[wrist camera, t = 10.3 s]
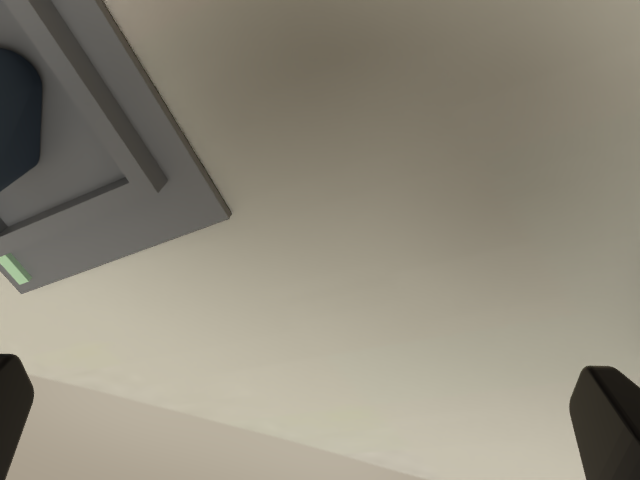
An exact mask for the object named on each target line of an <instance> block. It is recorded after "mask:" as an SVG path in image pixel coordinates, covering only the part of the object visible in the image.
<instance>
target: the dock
mask: <svg viewBox="0 0 640 480" xmlns="http://www.w3.org/2000/svg"><path fill="white" fill-rule="evenodd" d="M0 48H2V49H7V50H11V51H13V52H15V53H17V54H19V55H21V56H22V57H24V58H25V59H26V60H27V61H28V62H29V63H31V64H32V66H33V67H34V68H35V69H36V71H37V73H38V74H39V77H40V79H41V82H42V104H41V130H40V156H39V161H38V164H37V165H36V166H35V167H33V168H32V169H31V170H29V171H28V172H27V173H25V174H24V175H23V176H21V177H20V178H18V179H17V180H16V181H14V182H13V183H12V184H10V185H9V186H8V187H6V188H5V189H3V190H2V191H1V192H0V271H1V272H2V274H3V275H4V276H5V277H6V278H7V279H8V280H9V281H10V282H11V283H12V285H13V286H14V287H15V288H16V289H17V290H18V291H19V292H20V293H21V294H23V293H26V292H29V291H31V290H34V289H37V288H40V287H42V286H45V285H48V284H51V283H53V282H56V281H59V280H62V279H65V278H67V277H70V276H73V275H76V274H78V273H81V272H84V271H87V270H89V269H92V268H95V267H98V266H100V265H103V264H106V263H109V262H111V261H114V260H117V259H120V258H122V257H125V256H128V255H131V254H133V253H136V252H139V251H142V250H145V249H147V248H150V247H153V246H156V245H158V244H161V243H164V242H167V241H169V240H172V239H175V238H178V237H180V236H183V235H186V234H189V233H191V232H194V231H197V230H200V229H202V228H205V227H208V226H211V225H213V224H216V223H219V222H222V221H225V220H227V219H229V218H230V216H231V212H230V210H229V209H228V207H227V205H226V204H225V202H224V200H223V199H222V197H221V196H220V194H219V192H218V191H217V189H216V187H215V186H214V184H213V182H212V181H211V179H210V177H209V176H208V174H207V173H206V171H205V169H204V168H203V166H202V164H201V163H200V161H199V159H198V158H197V156H196V154H195V153H194V151H193V150H192V148H191V146H190V145H189V143H188V141H187V140H186V138H185V136H184V135H183V133H182V131H181V130H180V128H179V127H178V125H177V123H176V122H175V120H174V118H173V117H172V115H171V113H170V112H169V110H168V108H167V107H166V105H165V104H164V102H163V100H162V99H161V97H160V95H159V94H158V92H157V90H156V89H155V87H154V85H153V84H152V82H151V81H150V79H149V77H148V76H147V74H146V72H145V71H144V69H143V67H142V66H141V64H140V62H139V61H138V59H137V58H136V56H135V54H134V53H133V51H132V49H131V48H130V46H129V44H128V43H127V41H126V39H125V38H124V36H123V35H122V33H121V31H120V30H119V28H118V26H117V25H116V23H115V21H114V20H113V18H112V16H111V15H110V13H109V12H108V10H107V8H106V7H105V5H104V3H103V2H102V0H0Z"/></svg>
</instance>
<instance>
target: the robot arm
mask: <svg viewBox="0 0 640 480" xmlns="http://www.w3.org/2000/svg"><path fill="white" fill-rule="evenodd" d="M33 398H34V390H33V386H32V383H31V381H30V379H29V377H28V375H27V373H26V371H25V369H24V366H23V364H22V362H21V360H20V359H19V357H17V356H16V355H14V354H0V480H5V479H6V476H7V473H8V470H9V467H10V465H11V462H12V459H13V457H14V454H15V451H16V448H17V445H18V442H19V440H20V437H21V434H22V431H23V428H24V425H25V423H26V420H27V417H28V414H29V411H30V409H31V406H32V403H33ZM569 409H570V416H571V420H572V424H573V428H574V432H575V436H576V440H577V444H578V448H579V452H580V456H581V460H582V464H583V468H584V472H585V476H586V480H640V388H639V387H638V386H637V385H636V384H635V383H633V382H632V381H631V380H630V379H628V378H627V377H626V376H625V375H623V374H622V373H621V372H620V371H618V370H617V369H615V368H613V367H610V366H586V367H585V368H583V369H582V371H581V373H580V376H579V378H578V381H577V383H576V386H575V388H574V391H573V394H572V396H571V399H570V404H569Z"/></svg>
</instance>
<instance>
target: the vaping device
mask: <svg viewBox="0 0 640 480" xmlns="http://www.w3.org/2000/svg"><path fill="white" fill-rule="evenodd" d="M41 104H42V82H41V79H40V77H39V74H38V73H37V71H36V69H35V68H34V67H33V66H32V64H31V63H29V62H28V61H27V60H26V59H25V58H24V57H22V56H21V55H19V54H17V53H15V52H13V51H11V50H7V49H2V48H0V192H1V191H2V190H3V189H5V188H6V187H8V186H9V185H10V184H12V183H13V182H14V181H16V180H17V179H18V178H20V177H21V176H23V175H24V174H25V173H27V172H28V171H29V170H31V169H32V168H33V167H35V166H36V165H37V164H38V161H39V156H40V130H41Z"/></svg>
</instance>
